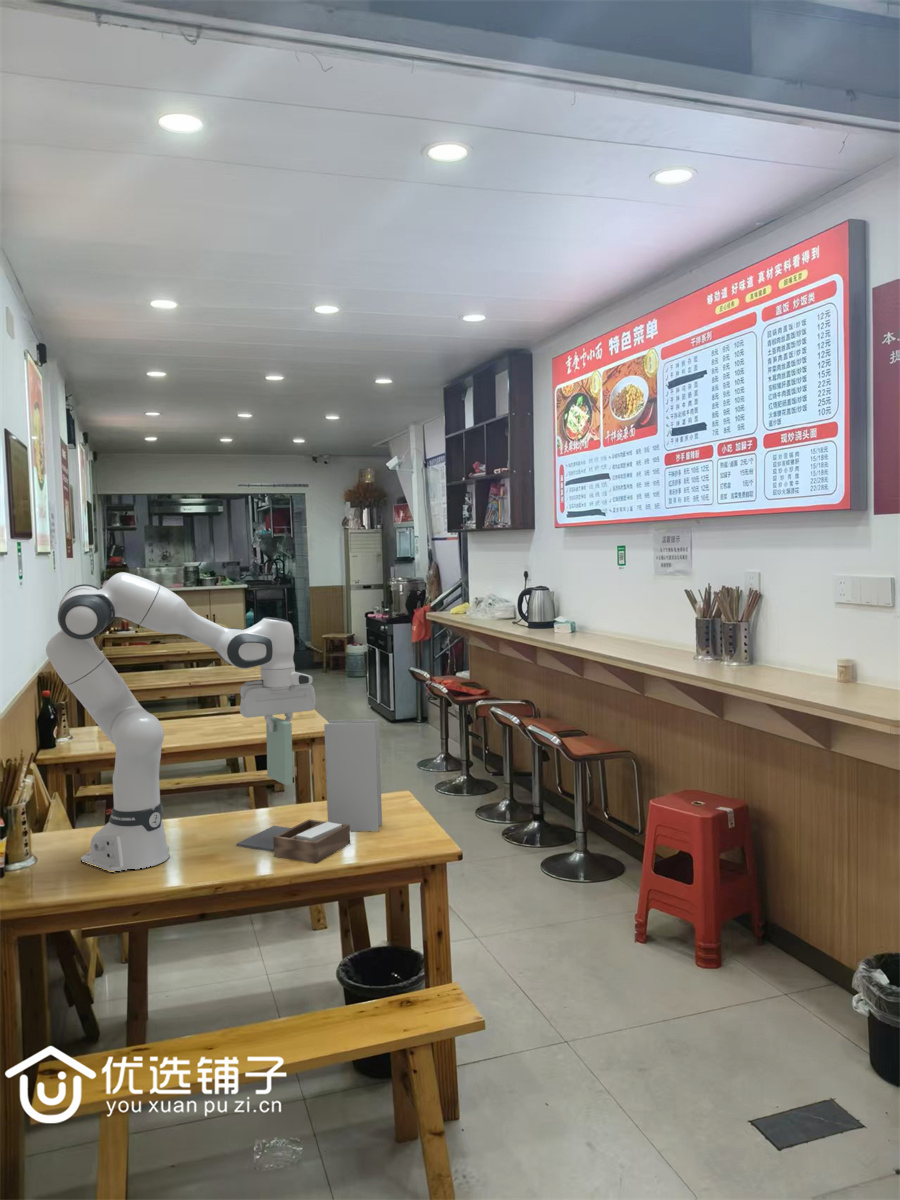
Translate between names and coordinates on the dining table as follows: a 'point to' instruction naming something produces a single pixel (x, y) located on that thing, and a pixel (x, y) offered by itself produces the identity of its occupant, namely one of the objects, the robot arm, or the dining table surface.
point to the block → (280, 752)
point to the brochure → (353, 773)
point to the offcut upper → (318, 831)
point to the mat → (263, 839)
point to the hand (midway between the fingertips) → (278, 730)
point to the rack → (310, 843)
